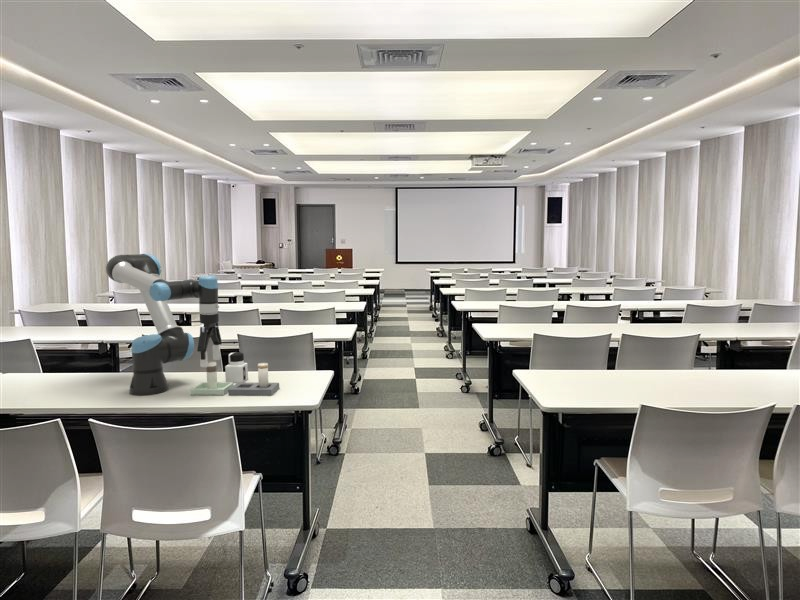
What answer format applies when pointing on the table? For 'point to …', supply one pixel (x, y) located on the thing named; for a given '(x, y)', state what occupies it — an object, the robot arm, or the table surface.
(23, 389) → the table surface
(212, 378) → the fuse
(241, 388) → the fuse block
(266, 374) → the cylinder
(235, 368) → the container
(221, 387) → the parts tray
